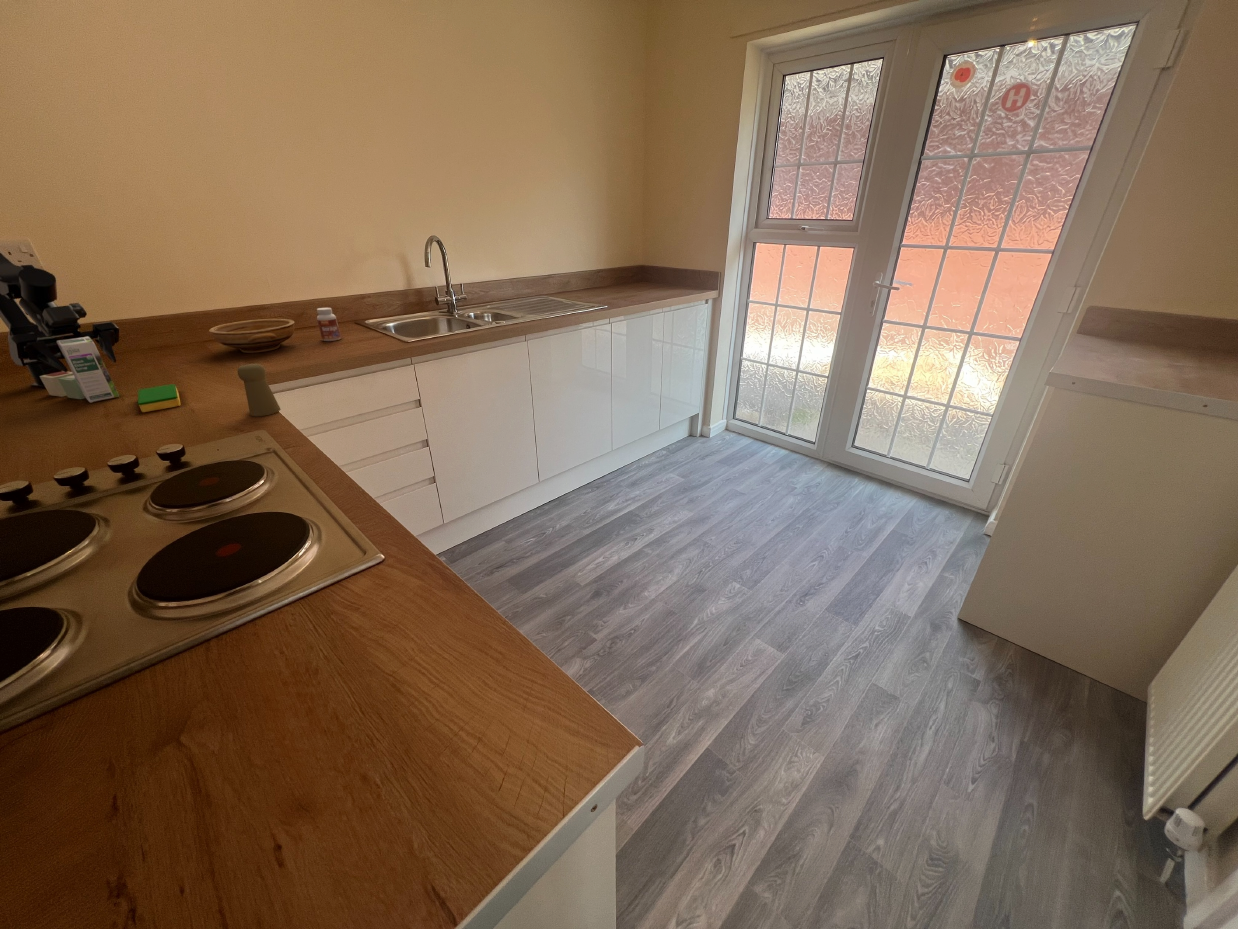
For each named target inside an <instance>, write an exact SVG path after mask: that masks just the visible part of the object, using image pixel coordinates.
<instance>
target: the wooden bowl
mask: <svg viewBox="0 0 1238 929" xmlns="http://www.w3.org/2000/svg"><path fill="white" fill-rule="evenodd" d="M295 323H296V322H295V321H294V320H293V319H288V318H263V319H262V318H260V319H250V320H249V319H248V320H242V321H234V322H229V323H224V324H219V325H216V326H213V327H211V328H210V329H208V331H209V333H210V334H211V336H212V337H213V338H214V339H215V340H216V342H217V343H220V344H222V345H223V346H225V347H230V348H233V349H237V350H240V351H241V352H242V353H248V354H251V353H261V352H262V353H264V352H269V351H274V350H277V349H279V348H280V345H281V344H283V343H284V342H286V341H287V340H289V339H290V338H292V336H293V334H294V332H295Z"/></svg>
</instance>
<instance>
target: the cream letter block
mask: <svg viewBox="0 0 1238 929" xmlns="http://www.w3.org/2000/svg"><path fill="white" fill-rule="evenodd" d="M61 371H62V370H61ZM72 375H73V373H72V371H68V372H64V371H62V372H57V373H52V374H48V375H43V376H40V378H41V380H42V382H43V384H44V385H45V387H44V388H45V389H46V391H47V393H48V394H49V396H55V397H60V398H61V397H62V398H63V397H68V396H67V395H66V393H65V391H64V389H63V387H62V385H61V383H60V381H59V378H63V377H68V376H72Z"/></svg>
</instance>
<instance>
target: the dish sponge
mask: <svg viewBox="0 0 1238 929" xmlns="http://www.w3.org/2000/svg"><path fill="white" fill-rule="evenodd" d="M137 391H138V393H137V394H138V395H137V396H138V397H137V404H138V406H139V408H140V411H141V412H142V413H148V412H154V411H159V410H166V409H170V408H176V407H180V406H182V405H181V399H180V394H179V391H178V388H177V386H176V384H174V383H172V384H164V385H158V386H151V387H146V388H141V389H138V390H137Z"/></svg>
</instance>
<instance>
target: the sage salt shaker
mask: <svg viewBox="0 0 1238 929" xmlns="http://www.w3.org/2000/svg"><path fill="white" fill-rule="evenodd" d="M266 371H267V370H266V368H265V367H264V366H263V365H262V364H260V363H248V364H243V365H240V366H239V367H238V368H237V375H238V378H239V379H240V380H241V381H243V385H244V390H245V395H246V400H247V405H248V406H247V407H248V411H249V415H250V416H251V417H263V416H264V417H265V416H270V415H273V414H277V413H278V412H280V411H281V407H280V405H279V403H278V400H277V399H276V397H275V395H274V393H273V391H272V388H271V387H270V385H269V383H268V381H267V379H266V377H267V372H266Z"/></svg>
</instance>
